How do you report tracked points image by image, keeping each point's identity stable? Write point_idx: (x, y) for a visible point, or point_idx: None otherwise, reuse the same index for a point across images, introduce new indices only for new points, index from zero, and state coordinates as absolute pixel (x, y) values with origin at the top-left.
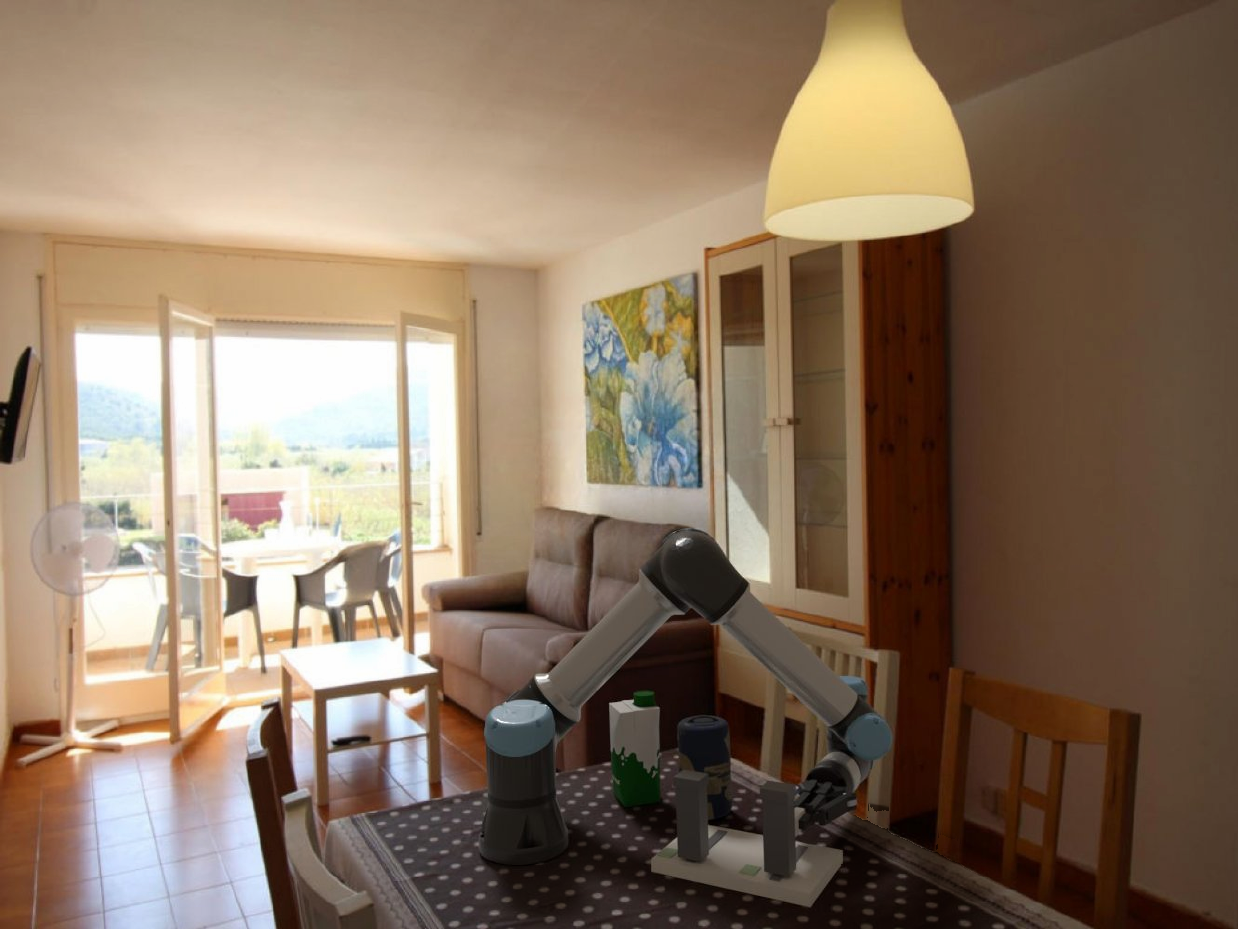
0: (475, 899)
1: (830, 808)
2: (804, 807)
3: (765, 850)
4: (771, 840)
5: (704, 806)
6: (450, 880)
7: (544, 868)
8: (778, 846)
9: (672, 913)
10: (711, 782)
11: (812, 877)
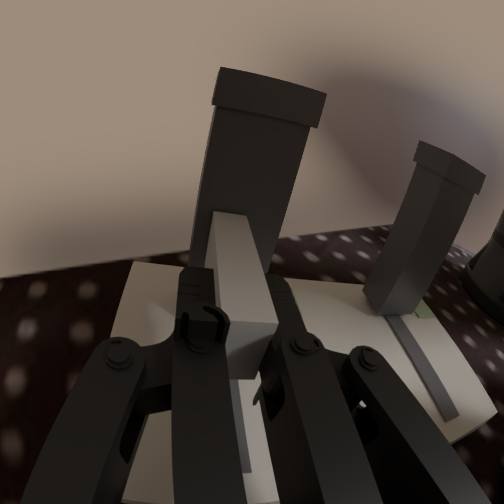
0: None
1: (66, 406)
2: (293, 485)
3: None
4: None
5: (417, 213)
6: (452, 252)
7: (451, 277)
8: None
9: (303, 243)
10: None
11: (138, 308)
